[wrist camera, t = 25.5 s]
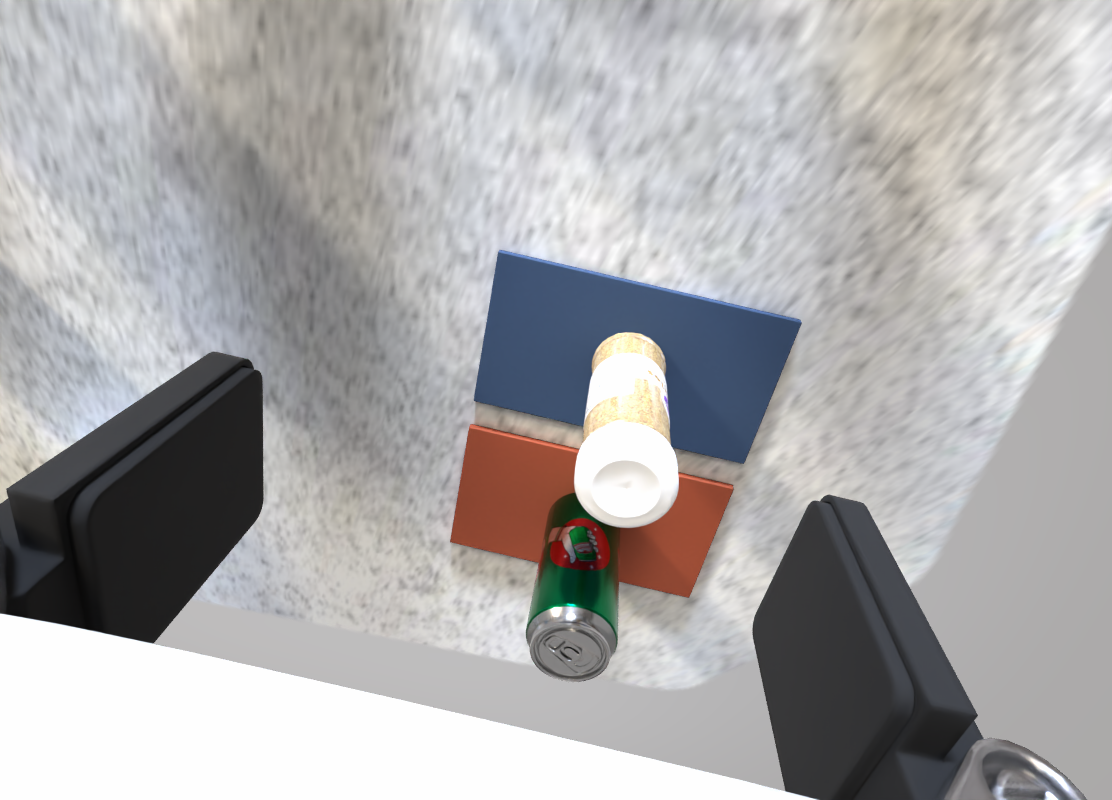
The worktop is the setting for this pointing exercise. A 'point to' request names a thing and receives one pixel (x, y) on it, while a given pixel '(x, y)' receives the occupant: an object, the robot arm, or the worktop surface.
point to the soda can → (575, 594)
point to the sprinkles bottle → (627, 435)
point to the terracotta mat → (548, 474)
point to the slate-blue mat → (628, 306)
